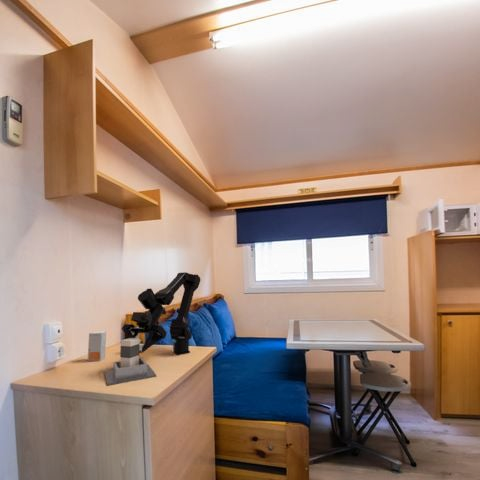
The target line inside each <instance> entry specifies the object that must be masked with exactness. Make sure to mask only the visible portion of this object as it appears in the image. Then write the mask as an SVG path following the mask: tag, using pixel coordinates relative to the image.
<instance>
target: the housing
mask: <svg viewBox="0 0 480 480" xmlns="http://www.w3.org/2000/svg"><path fill="white" fill-rule="evenodd" d="M120 366H121V360H118V361H116V360H115V361H112V369H109V370H104V376H105V377H104V378H105V381H106V386H112V385H118V384H123V383H130V382H133V381H135V382H136V381H139V380H140V381H141V380H145V379H151V378H155V377H156V378H157V374H156V372H155V371H154V370H153V369H152V368H151V366H150V365H149V363H147V362H146V361H145V359H144V357H139V365H135V366H128V367H122V368H120ZM129 381H130V382H129Z"/></svg>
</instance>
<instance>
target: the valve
mask: <svg viewBox="0 0 480 480" xmlns="http://www.w3.org/2000/svg"><path fill="white" fill-rule="evenodd" d="M134 326H135V325H134ZM135 327H136V328H139V326H137V325H136V326H135ZM135 338H139V344H140V347H139V353H142V352H143V351H142V348H143V346H144V344H145V343H141V342H142V340H141V339H140V333H138V335H137V336H136V337H135ZM143 353H144V352H143Z"/></svg>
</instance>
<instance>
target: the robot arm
mask: <svg viewBox="0 0 480 480" xmlns="http://www.w3.org/2000/svg"><path fill="white" fill-rule="evenodd" d="M200 283H201V277H200V276H199V274H193V273H189V272H187V271H186V272H185V271H184V272H178V273H177V275H176V276H175V277H174V278H173V279H172V281H171V282H170V283H168V285H167V286H166V287H164V288H162V289H160V290H158V291H157V292H156V293H155V292H154V291H153V289H152V288H147V289H145V290H143V291H142V292H141V293H139V294H138V296H137V300H138V301H139V303H140V304H141V305H142V307H143V308H144V309H145V310H147V311H144V312H141V311H136V312H135V311H133V312H132V315H131V318H130V321H131V322H134V323H135V325H136V326H139V328H136V327H135V325H134V324H133V323H125V324H123V326H122V327H121V330H122V331H123V333H124V335H125V336H124V339H128V338H136V336H137V335H138V333H139V334H144V335H145V334H148V337H147V338H146V340H145V342H144V343H143V344H144V346H143V348H142V351H143V353H144V352H145V351H147V350H149V348H152V347H153V346H155V344H156V343H158V342H161V341H162V340H165V339H166V337H167V331H166V329H165V328H164V327H163V325H162V324H160V322H159V320H160V318H161V316H162V315H166V314H167V310H166V307H164V306H169V305H170V304H171V303H172V302H173V300H174V299H175V294H176V292H177V291H178V290H179V289H180V288H181V287H182V286H183V294H182V299H181V301H180V305H179V309H178V313H177V316H176V317H175V318H172V320H171V323H170V326H169V334H170V338H171V339H170V340H173V343H172V349H173V350H172V353H174V354H175V355H181V354H182V355H183V354H189V353H191V351H190V347H189V345H190V343H189V341H190V340H191V339H192V336H193V333H192V332H191V330H190V329H189V327H190V324H189V320H188V318H189V313H190V309H191V305H192V301H193V298H194V293H195V291H197V289H199V285H200Z"/></svg>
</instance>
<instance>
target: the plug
mask: <svg viewBox="0 0 480 480" xmlns="http://www.w3.org/2000/svg"><path fill="white" fill-rule="evenodd" d="M139 339H140V337H139V338H136V337H135V338H128V339H125V338H124V339H121V340H120V351H119V353H120V354H119V357H120V361H121V366H120V368H122V367H128V366H135V365H139V358H140V352H139V347H140V344H141V343H140V344H139Z"/></svg>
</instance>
